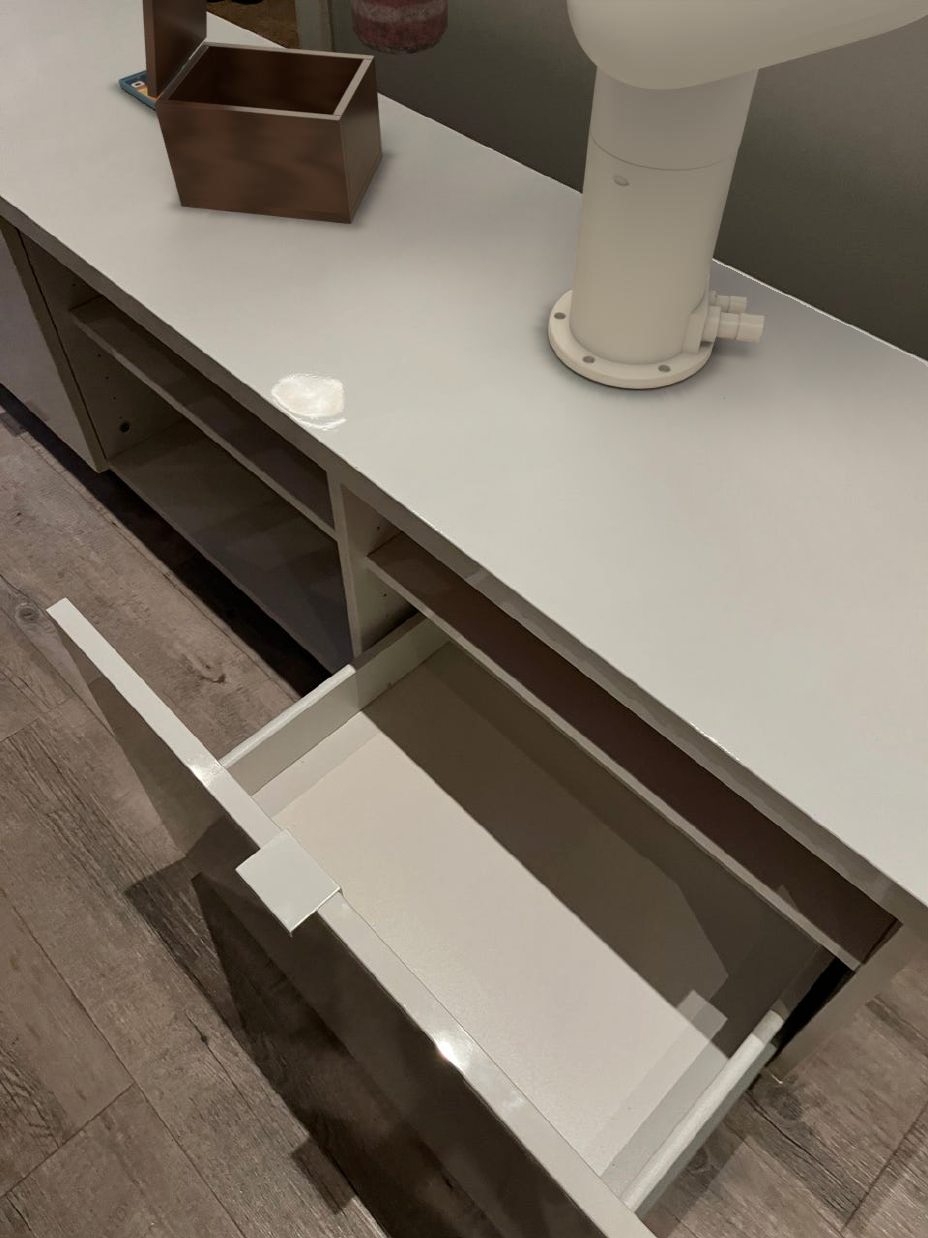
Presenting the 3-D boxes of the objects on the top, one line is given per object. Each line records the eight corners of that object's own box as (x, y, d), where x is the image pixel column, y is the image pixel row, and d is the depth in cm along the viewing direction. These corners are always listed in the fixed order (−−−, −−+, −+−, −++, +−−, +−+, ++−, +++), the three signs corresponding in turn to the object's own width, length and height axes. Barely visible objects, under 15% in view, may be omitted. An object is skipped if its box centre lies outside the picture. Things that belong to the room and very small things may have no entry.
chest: (382, 156, 87) (374, 55, 80) (350, 223, 80) (339, 120, 73) (225, 140, 89) (203, 40, 82) (181, 205, 82) (153, 102, 75)
